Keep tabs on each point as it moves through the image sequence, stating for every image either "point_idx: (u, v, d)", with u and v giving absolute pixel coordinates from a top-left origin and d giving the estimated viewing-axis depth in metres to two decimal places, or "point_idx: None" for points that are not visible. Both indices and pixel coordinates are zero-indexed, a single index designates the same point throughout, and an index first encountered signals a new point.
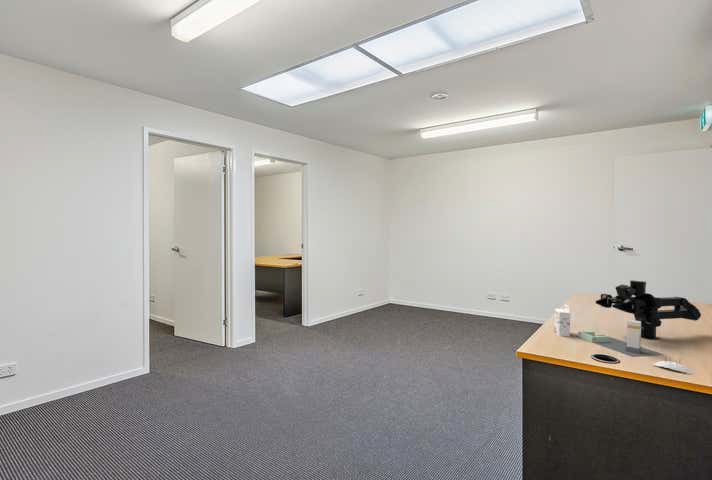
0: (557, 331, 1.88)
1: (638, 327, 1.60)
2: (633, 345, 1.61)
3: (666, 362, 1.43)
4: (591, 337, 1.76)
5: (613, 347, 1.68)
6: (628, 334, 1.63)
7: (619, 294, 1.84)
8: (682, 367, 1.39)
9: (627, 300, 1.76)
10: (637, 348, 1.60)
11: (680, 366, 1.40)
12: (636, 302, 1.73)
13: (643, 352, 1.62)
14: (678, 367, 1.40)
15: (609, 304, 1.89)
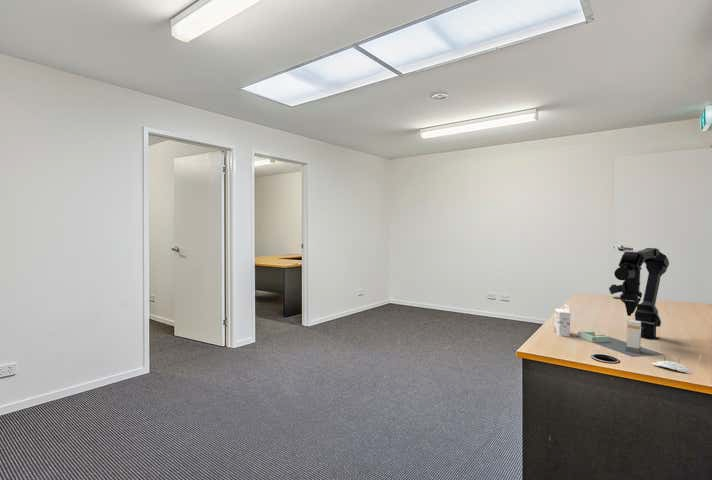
0: (557, 331, 1.88)
1: (638, 327, 1.60)
2: (633, 345, 1.61)
3: (665, 362, 1.43)
4: (591, 337, 1.76)
5: (613, 347, 1.68)
6: (628, 334, 1.63)
7: None
8: (681, 367, 1.40)
9: (622, 300, 1.74)
10: (637, 348, 1.60)
11: (679, 366, 1.40)
12: (622, 298, 1.71)
13: (643, 352, 1.62)
14: (677, 367, 1.40)
15: None
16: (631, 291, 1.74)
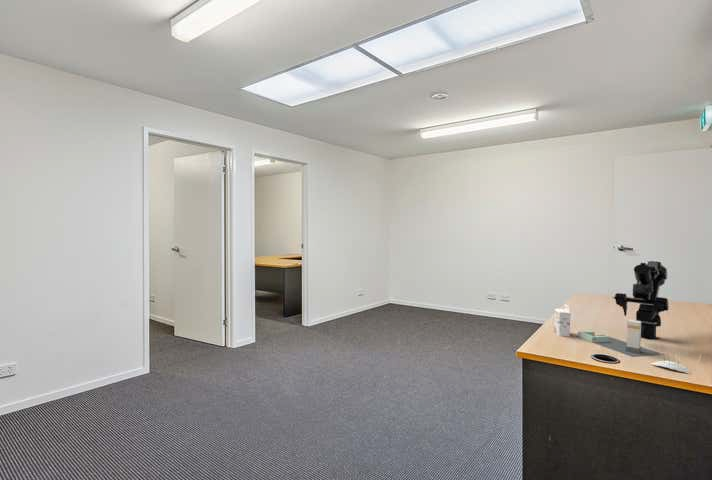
0: (557, 331, 1.88)
1: (638, 327, 1.60)
2: (633, 345, 1.61)
3: (665, 361, 1.44)
4: (591, 337, 1.76)
5: (613, 347, 1.68)
6: (628, 334, 1.63)
7: (636, 292, 1.72)
8: (681, 366, 1.40)
9: (657, 303, 1.66)
10: (637, 348, 1.60)
11: (679, 365, 1.40)
12: (667, 302, 1.65)
13: (643, 352, 1.62)
14: (677, 366, 1.40)
15: None
16: (649, 298, 1.72)
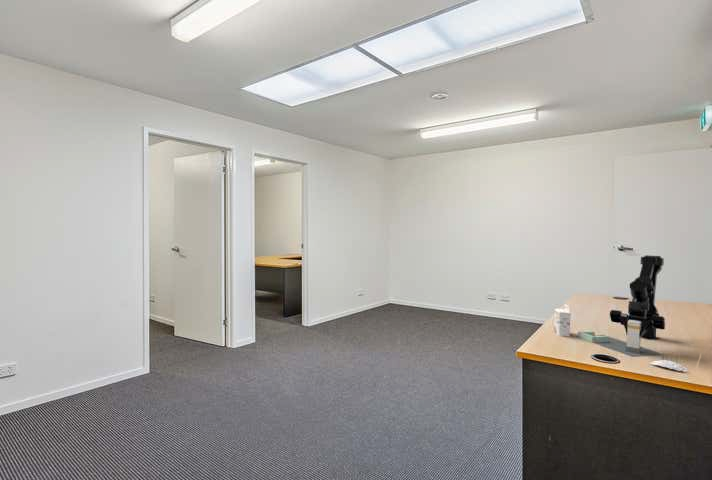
0: (557, 331, 1.88)
1: (638, 327, 1.60)
2: (633, 345, 1.61)
3: (663, 361, 1.44)
4: (591, 337, 1.76)
5: (613, 347, 1.68)
6: (628, 334, 1.63)
7: (632, 310, 1.66)
8: (679, 366, 1.40)
9: (646, 321, 1.61)
10: (637, 348, 1.60)
11: (677, 365, 1.41)
12: (663, 321, 1.58)
13: (643, 352, 1.62)
14: (675, 366, 1.41)
15: None
16: (645, 316, 1.65)
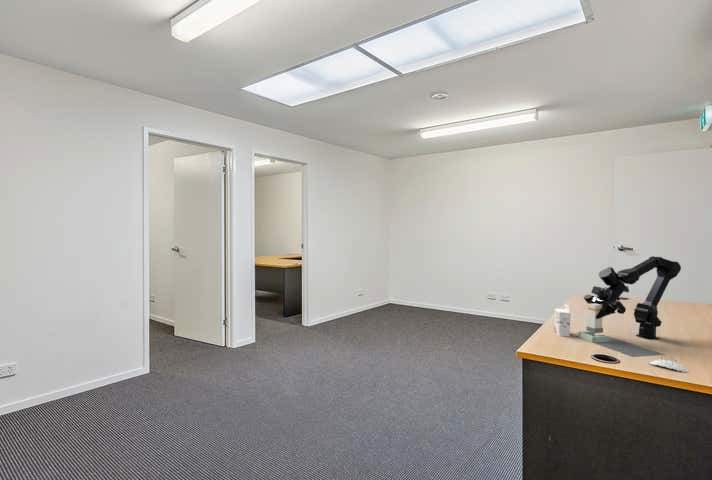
0: (557, 331, 1.88)
1: (594, 309, 1.78)
2: (591, 325, 1.79)
3: (662, 361, 1.45)
4: (591, 337, 1.76)
5: (613, 347, 1.68)
6: (588, 315, 1.81)
7: (598, 295, 1.82)
8: (678, 366, 1.41)
9: (604, 304, 1.76)
10: (593, 328, 1.78)
11: (676, 365, 1.41)
12: (617, 305, 1.71)
13: (643, 352, 1.62)
14: (674, 366, 1.41)
15: None
16: None
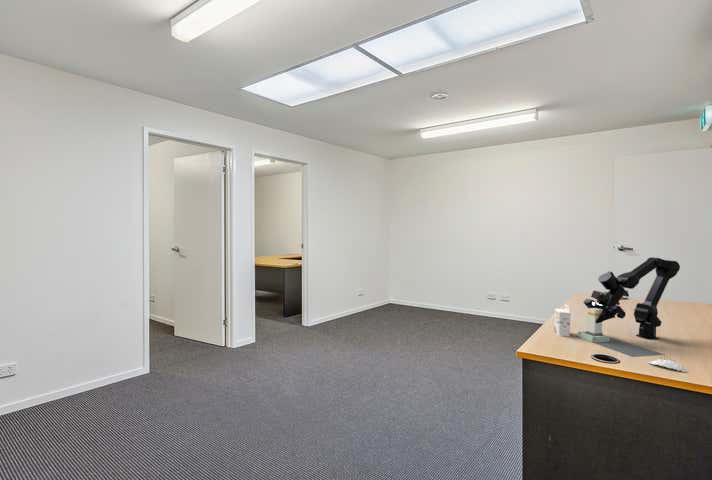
0: (557, 331, 1.88)
1: (594, 314, 1.78)
2: (591, 330, 1.79)
3: (662, 360, 1.45)
4: (591, 337, 1.76)
5: (613, 347, 1.68)
6: (588, 320, 1.81)
7: (598, 299, 1.82)
8: (677, 365, 1.41)
9: (604, 309, 1.76)
10: (593, 333, 1.78)
11: (675, 364, 1.41)
12: (617, 310, 1.71)
13: (643, 352, 1.62)
14: (673, 365, 1.41)
15: None
16: None
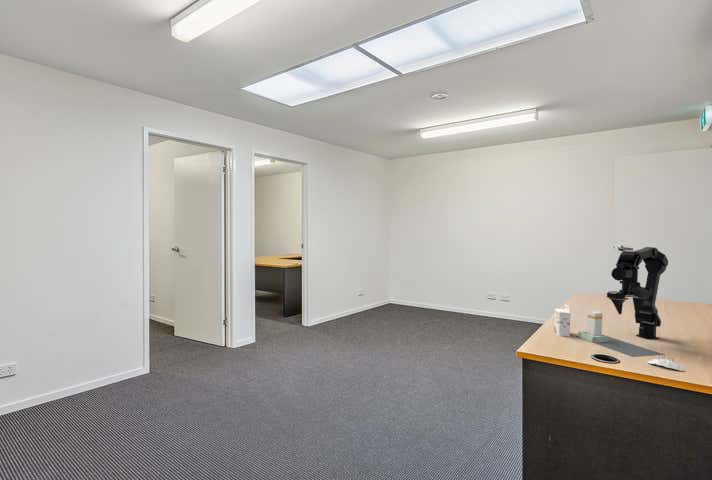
0: (557, 331, 1.88)
1: (594, 317, 1.78)
2: (591, 333, 1.79)
3: (660, 360, 1.45)
4: (591, 337, 1.76)
5: (613, 347, 1.68)
6: (588, 323, 1.81)
7: None
8: (675, 365, 1.42)
9: (645, 300, 1.75)
10: None
11: (673, 364, 1.42)
12: None
13: (643, 352, 1.62)
14: (671, 365, 1.42)
15: None
16: None
